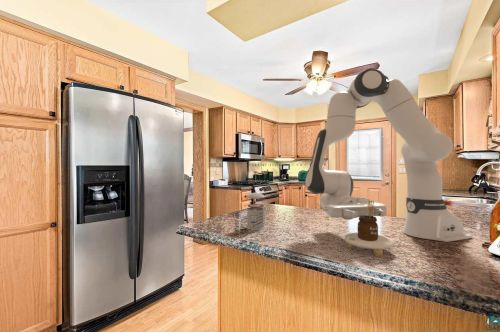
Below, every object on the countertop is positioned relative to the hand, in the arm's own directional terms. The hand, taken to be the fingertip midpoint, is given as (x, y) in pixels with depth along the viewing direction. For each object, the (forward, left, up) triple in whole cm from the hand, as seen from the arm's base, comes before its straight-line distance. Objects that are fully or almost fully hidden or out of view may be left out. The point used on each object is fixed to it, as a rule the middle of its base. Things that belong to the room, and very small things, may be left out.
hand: (369, 214), depth 77 cm
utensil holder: (0, -1, -8) cm, 8 cm away
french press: (+30, -35, -12) cm, 47 cm away
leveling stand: (0, -1, -11) cm, 12 cm away
